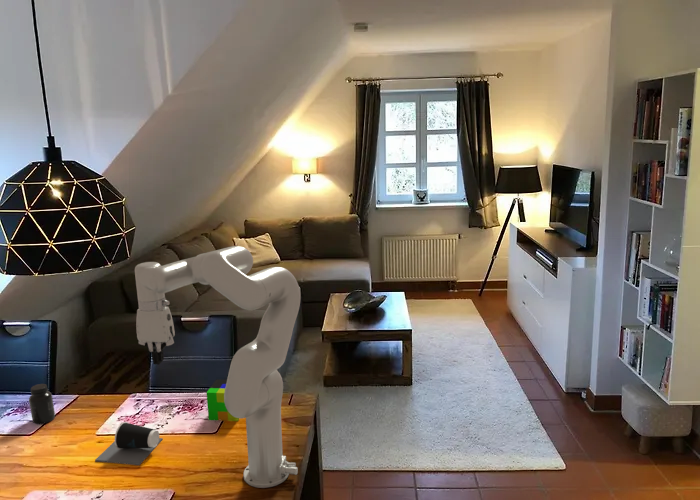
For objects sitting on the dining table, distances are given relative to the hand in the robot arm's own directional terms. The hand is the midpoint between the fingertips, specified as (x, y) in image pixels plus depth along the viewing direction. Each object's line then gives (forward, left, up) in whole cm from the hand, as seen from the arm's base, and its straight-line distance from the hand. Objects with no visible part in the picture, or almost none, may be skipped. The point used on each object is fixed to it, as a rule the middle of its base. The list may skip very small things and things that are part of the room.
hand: (158, 362), depth 175 cm
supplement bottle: (+48, -7, -27) cm, 55 cm away
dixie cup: (0, +6, -22) cm, 23 cm away
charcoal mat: (+9, +6, -26) cm, 28 cm away
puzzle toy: (-12, -20, -27) cm, 36 cm away
